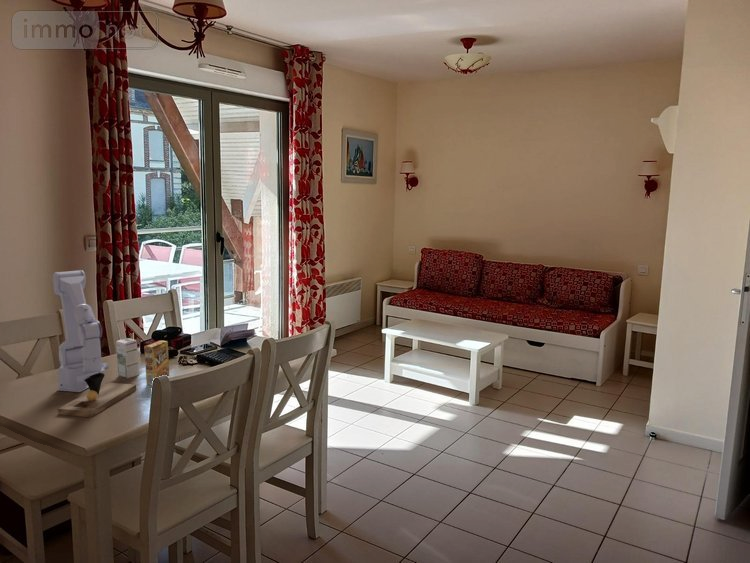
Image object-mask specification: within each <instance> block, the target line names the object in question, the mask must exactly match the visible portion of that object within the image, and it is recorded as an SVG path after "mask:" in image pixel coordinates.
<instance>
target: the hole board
mask: <svg viewBox="0 0 750 563" xmlns="http://www.w3.org/2000/svg"><path fill="white" fill-rule="evenodd" d="M135 391H137V384H130V383H120V382H107V381H106V382H105V383H102V384H101V386H100V391H99V395H98V397H97V399H95V400H93V401H90V400H88V399H87V393H88V392H86V393H84V394H82V395H80V396H79V397H77V398H75V399H73V400H71V401H70V402H67V403H66V404H64V405H62V406H60V407H59V408H57V411H58V412H57V413H58V414H57V415H60V416H61V415H63V416H64V415H65V416H73V417H84V418H93V417H94V416H96V415H98V414H99V413H101V412H102V411H104V410H106V409H107V408H109V407H111V406H112V405H114V404H115V403H117V402H119V401H120V400H122V399H124V398H125V397H127V396H129V395H130V394H132V393H134V392H135Z"/></svg>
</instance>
